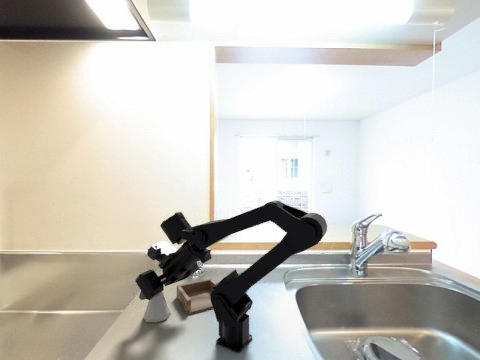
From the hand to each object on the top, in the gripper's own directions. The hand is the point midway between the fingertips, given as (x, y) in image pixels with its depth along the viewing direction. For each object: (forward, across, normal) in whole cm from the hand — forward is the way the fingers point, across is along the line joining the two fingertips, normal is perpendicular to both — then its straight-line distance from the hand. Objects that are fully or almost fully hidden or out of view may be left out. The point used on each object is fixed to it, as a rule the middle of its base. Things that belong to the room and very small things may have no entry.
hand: (153, 291), depth 72 cm
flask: (+4, 0, +6) cm, 7 cm away
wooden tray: (-1, -12, +10) cm, 16 cm away
